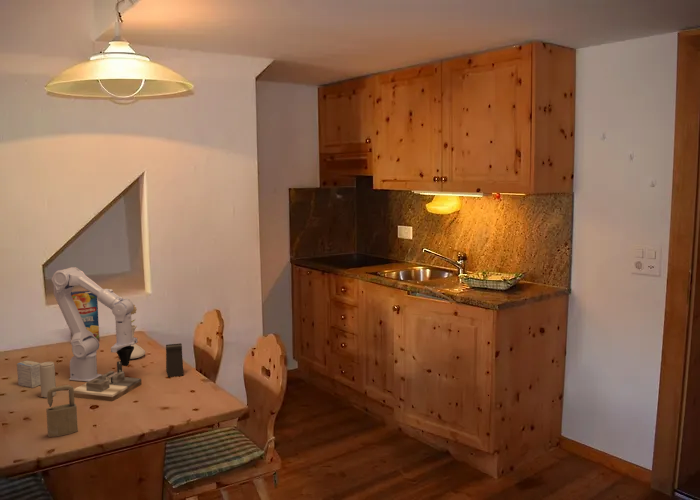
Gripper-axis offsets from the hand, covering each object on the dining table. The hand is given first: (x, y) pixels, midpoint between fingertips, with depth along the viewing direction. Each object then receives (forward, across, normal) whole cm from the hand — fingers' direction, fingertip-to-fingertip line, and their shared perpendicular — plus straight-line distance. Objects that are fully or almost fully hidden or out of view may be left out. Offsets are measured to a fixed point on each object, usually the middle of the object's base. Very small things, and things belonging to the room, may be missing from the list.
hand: (125, 365), depth 235 cm
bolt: (+3, -7, 0) cm, 7 cm away
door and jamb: (+6, -12, 0) cm, 13 cm away
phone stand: (+6, +12, -14) cm, 20 cm away
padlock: (+6, -48, -10) cm, 49 cm away
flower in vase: (+6, +27, +16) cm, 32 cm away
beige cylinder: (+6, -22, +17) cm, 28 cm away
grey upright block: (+6, -14, +32) cm, 35 cm away
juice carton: (+6, +44, +52) cm, 69 cm away
